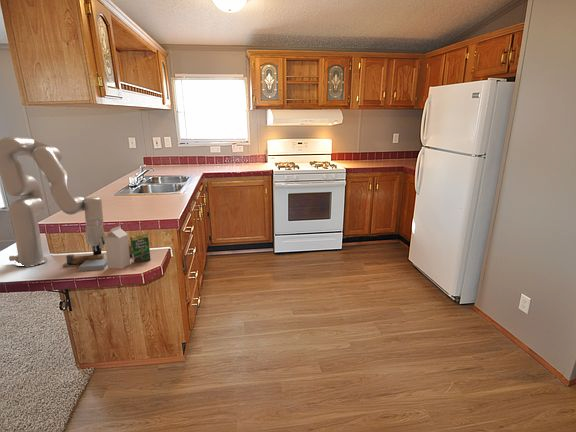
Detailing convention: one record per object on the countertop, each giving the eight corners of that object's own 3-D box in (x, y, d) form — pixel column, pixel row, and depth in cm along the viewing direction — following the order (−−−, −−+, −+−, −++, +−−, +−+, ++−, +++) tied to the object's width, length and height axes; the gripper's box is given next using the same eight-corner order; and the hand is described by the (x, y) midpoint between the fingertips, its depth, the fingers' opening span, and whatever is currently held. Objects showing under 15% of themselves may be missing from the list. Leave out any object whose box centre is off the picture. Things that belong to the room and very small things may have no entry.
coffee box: (133, 263, 165) (131, 237, 163) (132, 261, 167) (130, 236, 165) (150, 260, 170) (148, 235, 167) (149, 258, 172) (147, 233, 170)
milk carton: (130, 264, 164) (127, 226, 160) (122, 269, 157) (118, 229, 153) (116, 263, 165) (113, 225, 161) (107, 268, 158) (103, 229, 154)
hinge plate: (60, 267, 159) (60, 266, 159) (65, 262, 165) (65, 262, 165) (76, 266, 160) (76, 265, 160) (81, 261, 167) (81, 261, 167)
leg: (66, 264, 161) (65, 256, 160) (68, 262, 164) (67, 254, 163) (102, 261, 166) (102, 254, 165) (104, 259, 169) (103, 252, 168)
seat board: (79, 271, 154) (79, 266, 154) (86, 264, 163) (85, 260, 162) (103, 269, 157) (103, 265, 156) (108, 262, 165) (108, 259, 165)
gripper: (78, 221, 167) (82, 257, 170) (94, 225, 159) (98, 262, 162) (94, 219, 173) (97, 253, 176) (110, 223, 165) (113, 258, 168)
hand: (97, 257), depth 169 cm, fingers closed
